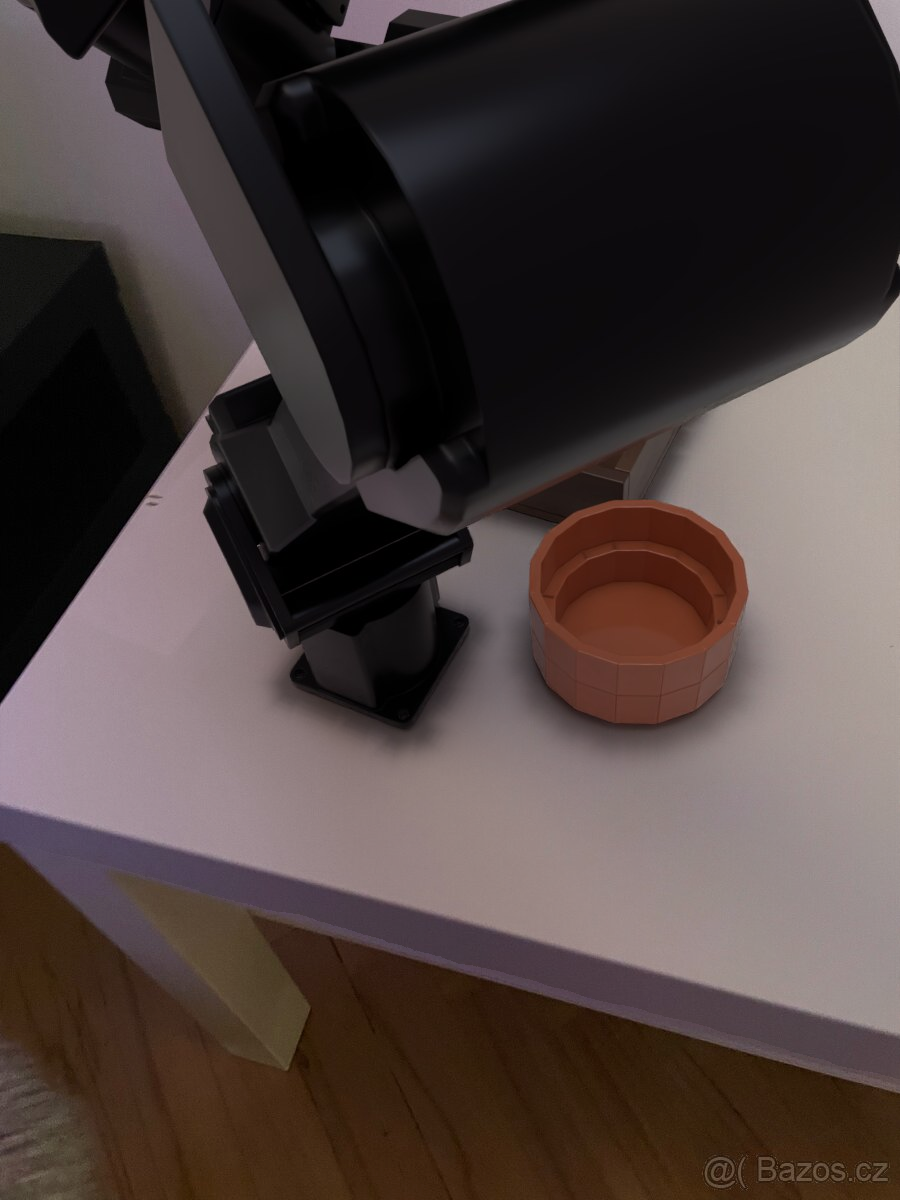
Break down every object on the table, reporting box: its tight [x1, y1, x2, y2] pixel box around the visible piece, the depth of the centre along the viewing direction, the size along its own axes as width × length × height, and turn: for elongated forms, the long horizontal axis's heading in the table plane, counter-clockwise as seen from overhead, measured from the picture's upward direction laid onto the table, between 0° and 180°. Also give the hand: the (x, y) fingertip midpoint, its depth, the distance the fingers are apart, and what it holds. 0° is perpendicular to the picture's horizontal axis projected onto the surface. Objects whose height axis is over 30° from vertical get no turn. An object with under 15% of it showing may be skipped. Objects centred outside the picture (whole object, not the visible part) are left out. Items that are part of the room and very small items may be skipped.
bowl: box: [528, 499, 750, 725], centre depth 42 cm, size 9×9×5 cm
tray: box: [506, 425, 681, 524], centre depth 53 cm, size 18×10×4 cm, turn 153°
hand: (394, 152), depth 47 cm, fingers open, 9 cm apart
